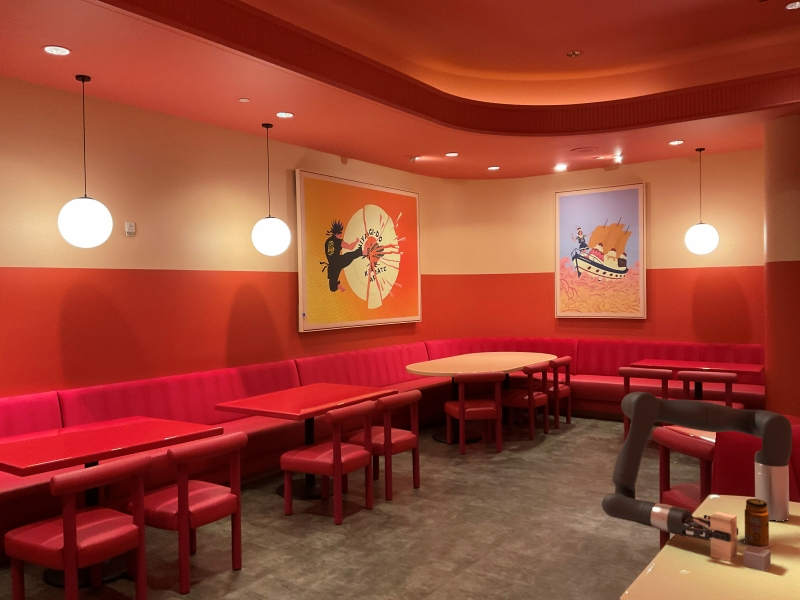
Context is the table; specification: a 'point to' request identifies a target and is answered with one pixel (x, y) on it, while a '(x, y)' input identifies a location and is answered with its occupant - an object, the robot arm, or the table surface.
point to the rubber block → (757, 558)
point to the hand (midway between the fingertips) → (733, 534)
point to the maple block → (719, 546)
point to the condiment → (756, 525)
